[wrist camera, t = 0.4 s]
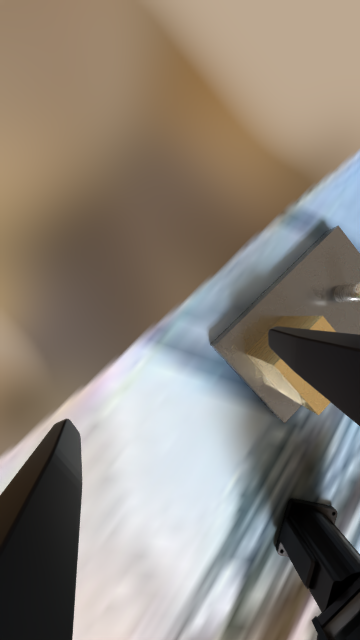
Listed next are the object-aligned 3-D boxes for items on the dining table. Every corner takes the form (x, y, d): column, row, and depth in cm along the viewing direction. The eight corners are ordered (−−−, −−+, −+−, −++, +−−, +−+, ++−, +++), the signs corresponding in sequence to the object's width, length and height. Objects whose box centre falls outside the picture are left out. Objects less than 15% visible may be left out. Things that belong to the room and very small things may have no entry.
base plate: (326, 231, 23) (379, 204, 18) (382, 303, 24) (448, 299, 19) (210, 344, 21) (228, 354, 16) (276, 416, 23) (314, 447, 17)
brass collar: (283, 316, 21) (322, 315, 16) (315, 354, 21) (364, 365, 16) (245, 353, 20) (274, 365, 15) (280, 391, 21) (318, 415, 16)
